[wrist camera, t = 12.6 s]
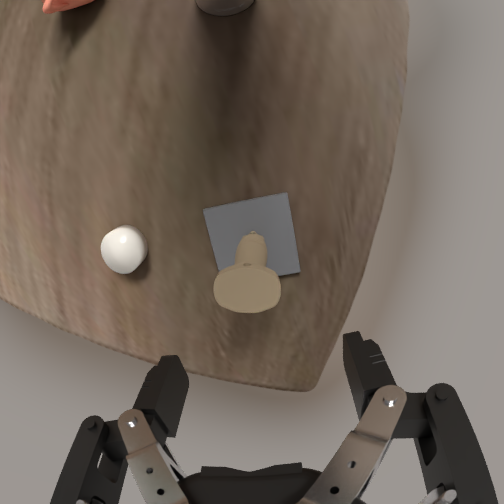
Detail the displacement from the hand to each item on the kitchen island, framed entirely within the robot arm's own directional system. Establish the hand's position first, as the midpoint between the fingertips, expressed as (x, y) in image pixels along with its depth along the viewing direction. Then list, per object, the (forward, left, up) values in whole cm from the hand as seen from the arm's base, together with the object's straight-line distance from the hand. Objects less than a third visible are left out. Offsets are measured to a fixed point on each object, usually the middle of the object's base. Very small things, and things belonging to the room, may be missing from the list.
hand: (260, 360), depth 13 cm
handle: (+3, -2, -29) cm, 29 cm away
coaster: (+3, -2, -30) cm, 30 cm away
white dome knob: (0, -22, -30) cm, 37 cm away
